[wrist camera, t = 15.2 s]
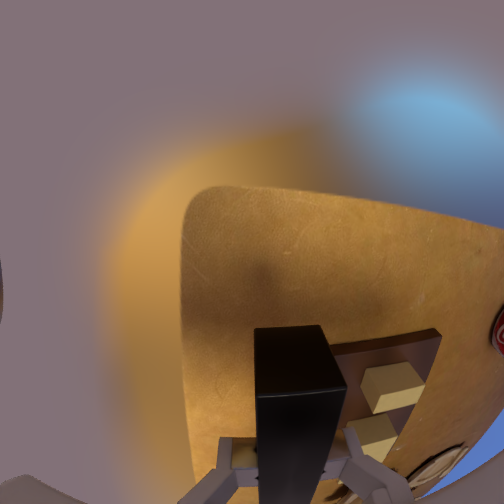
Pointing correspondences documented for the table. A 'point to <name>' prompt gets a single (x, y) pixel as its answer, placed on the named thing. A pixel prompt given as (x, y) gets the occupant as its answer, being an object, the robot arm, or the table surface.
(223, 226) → the table surface
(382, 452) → the butter block
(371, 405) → the block
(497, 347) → the soda can
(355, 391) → the board
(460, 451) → the tableware set
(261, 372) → the knife
